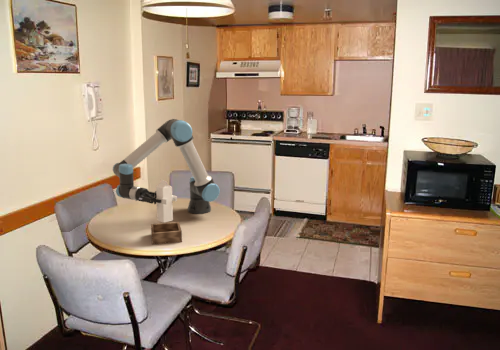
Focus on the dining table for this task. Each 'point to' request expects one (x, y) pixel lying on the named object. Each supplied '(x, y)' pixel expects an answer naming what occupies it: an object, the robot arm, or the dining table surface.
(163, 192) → the milk
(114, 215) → the dining table surface
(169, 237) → the box
